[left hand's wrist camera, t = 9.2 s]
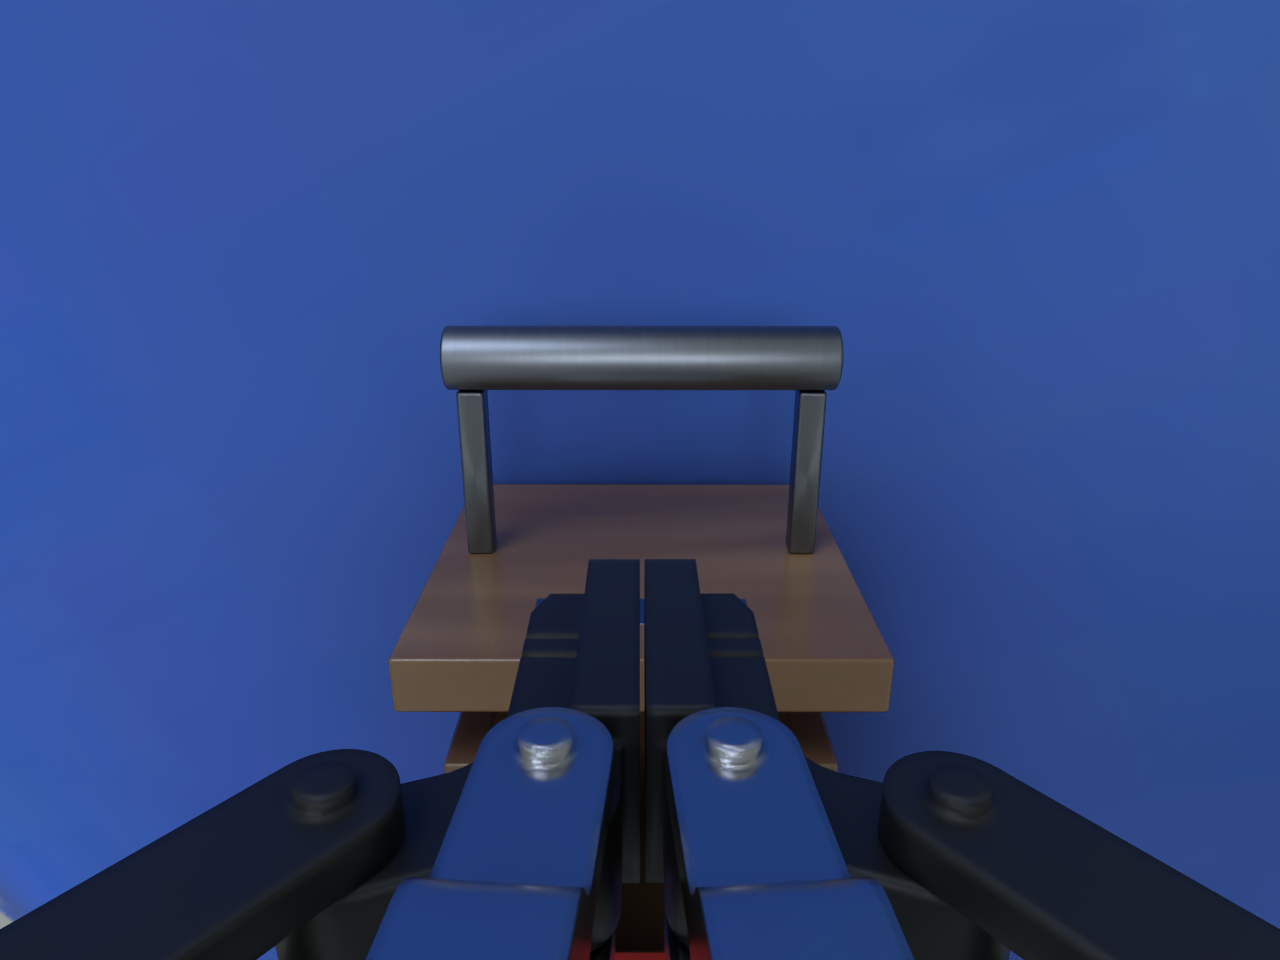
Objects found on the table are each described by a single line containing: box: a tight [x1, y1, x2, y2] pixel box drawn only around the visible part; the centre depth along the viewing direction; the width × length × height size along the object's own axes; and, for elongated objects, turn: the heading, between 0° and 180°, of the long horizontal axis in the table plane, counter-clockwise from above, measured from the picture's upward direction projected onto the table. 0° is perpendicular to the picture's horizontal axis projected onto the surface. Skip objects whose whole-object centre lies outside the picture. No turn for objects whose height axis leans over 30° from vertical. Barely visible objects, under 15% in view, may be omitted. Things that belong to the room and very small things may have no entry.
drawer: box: [388, 326, 895, 952], centre depth 23 cm, size 22×10×9 cm, turn 0°
